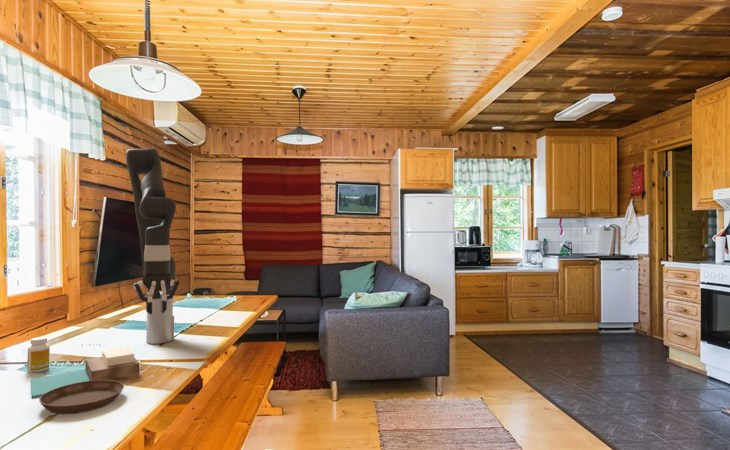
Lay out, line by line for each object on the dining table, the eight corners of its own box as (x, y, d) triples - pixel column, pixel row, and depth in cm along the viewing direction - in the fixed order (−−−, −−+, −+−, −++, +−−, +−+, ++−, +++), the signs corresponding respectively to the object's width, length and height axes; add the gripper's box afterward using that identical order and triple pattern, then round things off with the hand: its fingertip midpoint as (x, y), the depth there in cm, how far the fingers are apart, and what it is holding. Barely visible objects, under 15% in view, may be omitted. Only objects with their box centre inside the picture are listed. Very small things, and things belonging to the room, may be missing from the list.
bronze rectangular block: (129, 364, 135) (130, 352, 135) (139, 376, 124) (139, 363, 125) (85, 372, 128) (85, 359, 128) (91, 385, 117) (91, 371, 117)
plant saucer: (108, 385, 118) (108, 374, 118) (135, 401, 107) (135, 389, 107) (30, 405, 104) (30, 392, 105) (51, 426, 93) (51, 412, 93)
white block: (128, 354, 133) (128, 347, 133) (133, 361, 126) (134, 353, 126) (102, 358, 128) (102, 351, 128) (106, 366, 121) (107, 358, 121)
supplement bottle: (53, 368, 132) (54, 337, 132) (35, 373, 127) (35, 341, 127) (41, 366, 133) (42, 335, 134) (23, 371, 128) (23, 339, 128)
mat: (84, 371, 128) (85, 369, 128) (91, 386, 116) (91, 384, 116) (30, 381, 120) (30, 378, 120) (31, 398, 108) (32, 395, 108)
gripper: (176, 257, 142) (176, 309, 141) (130, 259, 133) (129, 314, 132) (183, 259, 136) (182, 312, 136) (135, 260, 127) (134, 317, 127)
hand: (156, 312), depth 134 cm, fingers open, 3 cm apart
